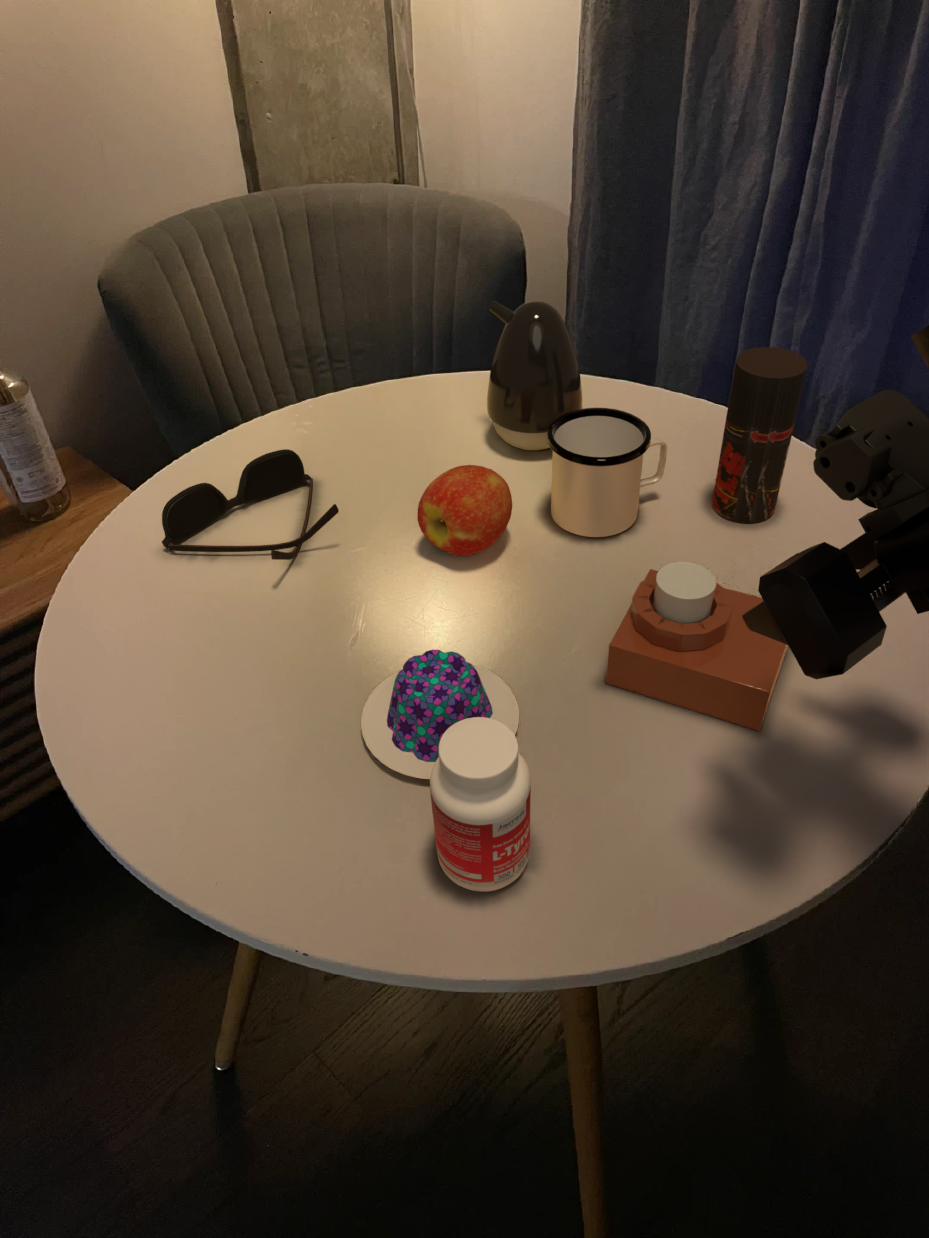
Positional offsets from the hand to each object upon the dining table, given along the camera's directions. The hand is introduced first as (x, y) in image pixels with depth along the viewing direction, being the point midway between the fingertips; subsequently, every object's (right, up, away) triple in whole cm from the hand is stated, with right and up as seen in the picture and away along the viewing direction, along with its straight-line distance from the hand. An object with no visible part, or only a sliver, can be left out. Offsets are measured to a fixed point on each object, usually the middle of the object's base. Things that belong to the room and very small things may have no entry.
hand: (793, 590), depth 57 cm
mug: (-7, +9, +30) cm, 32 cm away
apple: (-21, +5, +27) cm, 35 cm away
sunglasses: (-40, +6, +29) cm, 50 cm away
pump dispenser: (-14, +18, +41) cm, 47 cm away
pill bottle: (-20, -18, +2) cm, 27 cm away
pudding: (-23, -10, +11) cm, 27 cm away
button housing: (-2, -5, +14) cm, 15 cm away
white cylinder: (-4, -1, +11) cm, 12 cm away
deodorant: (+6, +9, +30) cm, 32 cm away
